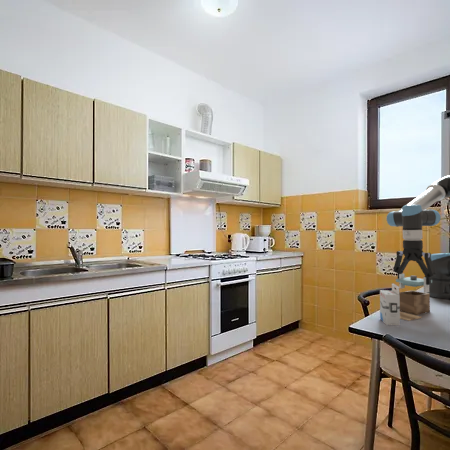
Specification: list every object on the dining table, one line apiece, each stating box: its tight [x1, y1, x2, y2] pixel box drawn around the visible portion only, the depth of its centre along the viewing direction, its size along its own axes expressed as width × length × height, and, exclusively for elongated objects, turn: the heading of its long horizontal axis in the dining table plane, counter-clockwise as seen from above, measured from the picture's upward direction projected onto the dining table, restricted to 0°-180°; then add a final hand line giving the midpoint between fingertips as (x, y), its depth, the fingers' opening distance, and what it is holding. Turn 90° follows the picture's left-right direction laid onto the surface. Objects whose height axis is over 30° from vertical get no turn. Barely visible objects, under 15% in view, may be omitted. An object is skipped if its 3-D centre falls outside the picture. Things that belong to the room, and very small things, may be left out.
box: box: [399, 290, 431, 316], centre depth 136 cm, size 10×8×8 cm
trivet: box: [400, 311, 423, 322], centre depth 128 cm, size 9×9×1 cm
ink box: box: [379, 283, 401, 327], centre depth 121 cm, size 9×5×15 cm, turn 168°
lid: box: [395, 275, 432, 288], centre depth 137 cm, size 10×10×4 cm
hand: (413, 290), depth 137 cm, fingers closed on lid, 10 cm apart
